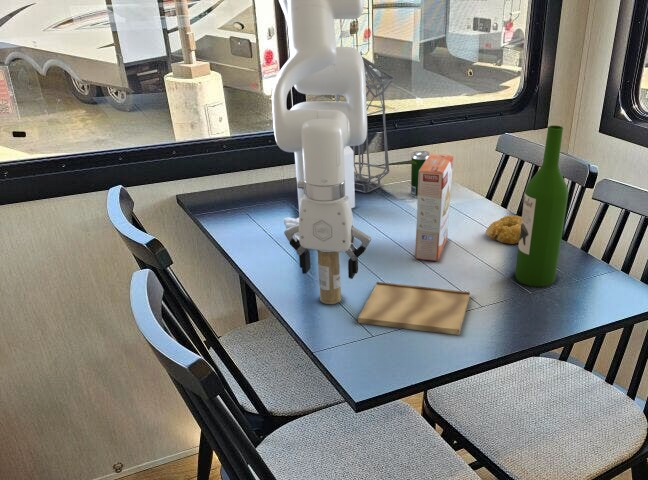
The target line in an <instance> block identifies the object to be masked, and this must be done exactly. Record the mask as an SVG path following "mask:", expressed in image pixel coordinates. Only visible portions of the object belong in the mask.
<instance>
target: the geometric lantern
mask: <svg viewBox="0 0 648 480" xmlns="http://www.w3.org/2000/svg"><path fill="white" fill-rule="evenodd" d="M362 59H363V62H364V68H365V83H366V89H367V91H366V98H367V97H368V95H369V93H370V94H371V95H372V98H371V100H370V102H369V104H367V103H366V107H367V111H368V110H369V108H370V107H372V108H377V109H380V110H376V111H373V112H370V113H367V117H368V116H371V115H374V114H377V113H382V121H383V141H384V142H383V143H384V144H383V146H384V166H381V165H376V164H372V163H370V152H369V151H370V150H369V138H368V135H367V136H366V140H365V146H366V147H365V149H366V160H367V161H366V162H367V163H366V162H364V143H363V144H361V145H358V146H357V147H358V162H356V146H352V150H353V151H354V172H355V173H354V185H359V186H363V190H361V189H358V188H357V189H356V188H354V189H355V191H356V192H360V193H364V194H366V193H370V192H373V191H374V190H376V189H379V188H381V187H382V185H381V180H382V179H383V178H384V177H386V176H387V175H388V174H389V173H390V161H389V151H388V150H389V149H388V139H387V138H388V137H387V125H386V104H385V92H386V90H387V89H388V88H389V87H390V86H391V85H392V83H394V81H395V80H397V77H396V76H394V75H392V74H391V73H389V72H387V71H386V70H384V69H383V68H381V66H380V67H379V66H378V65H376V64H375V63H373V62H372V61H371V60H369V59H367V58H365V57H364V56H362ZM374 69H375V70H374ZM376 70H377V72H380V73H382V74H384V75H385V76H380V75H379V74H378V73H377V72H376ZM385 79H387V80H385ZM375 80H376V81H377V82H375ZM383 80H385V81H384V82H383ZM369 81H370V82H369ZM385 85H386V86H385ZM377 86H378V87H377ZM372 89H373V90H375V93H374V92H373V90H372ZM381 89H382V90H381ZM380 91H381V92H380ZM342 97H343V98H345V97H344V96H343V95H336V98H335V101H340V98H342ZM378 97H379V100H380V104H381V106H380V105H373V104H372V102H373V101H374V99H375V98H378ZM356 165H358V169H357V167H356ZM364 166H367V174H363V173H362V170H363V167H364ZM371 167H373V168H376V169H377V168H378V169H381V170H382V169H383V171H382V172H381V173H379V174H376V175H371ZM362 176H363V177H366V178H362ZM373 179H375V180H373ZM371 180H372V181H371ZM359 182H361V183H359ZM376 182H377V183H376ZM371 184H372V185H376V187H374V188H371V189H370V185H371ZM366 187H367V188H366ZM366 189H367V191H366Z"/></svg>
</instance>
